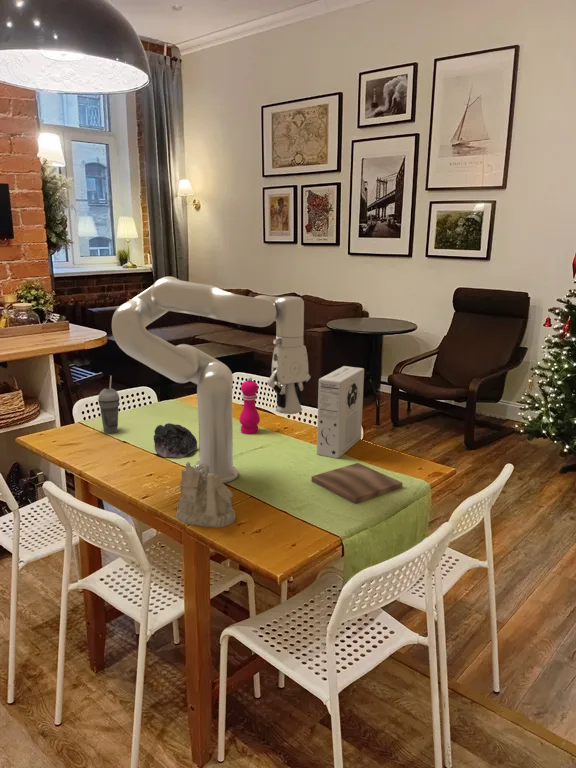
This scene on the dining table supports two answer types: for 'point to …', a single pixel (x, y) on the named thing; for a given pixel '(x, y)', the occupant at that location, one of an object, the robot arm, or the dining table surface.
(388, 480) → the walnut board
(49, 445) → the dining table surface
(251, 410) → the pepper mill
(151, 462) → the dining table surface
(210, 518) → the miniature castle
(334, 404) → the cereal box
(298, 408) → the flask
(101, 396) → the beverage cup
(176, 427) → the crystal cluster
